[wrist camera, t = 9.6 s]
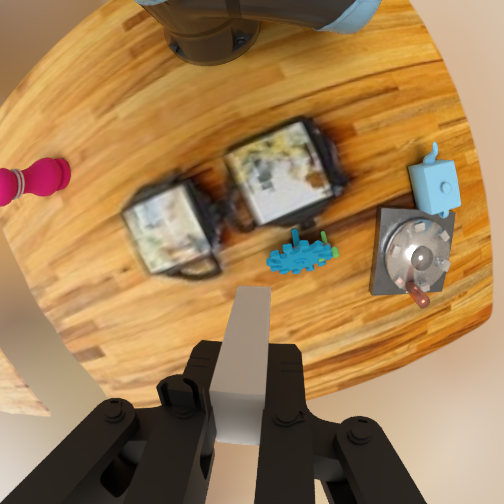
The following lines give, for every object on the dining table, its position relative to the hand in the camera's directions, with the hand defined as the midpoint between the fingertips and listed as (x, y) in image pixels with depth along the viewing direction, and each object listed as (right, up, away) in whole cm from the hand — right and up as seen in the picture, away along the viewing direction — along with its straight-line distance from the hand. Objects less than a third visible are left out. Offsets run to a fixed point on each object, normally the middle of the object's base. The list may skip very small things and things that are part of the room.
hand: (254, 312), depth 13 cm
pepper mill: (-38, +18, +32) cm, 52 cm away
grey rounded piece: (+28, +2, +29) cm, 40 cm away
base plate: (+28, +3, +31) cm, 42 cm away
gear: (+8, +3, +33) cm, 34 cm away
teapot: (+28, +15, +27) cm, 42 cm away
